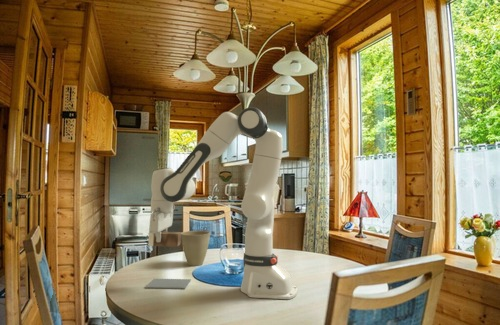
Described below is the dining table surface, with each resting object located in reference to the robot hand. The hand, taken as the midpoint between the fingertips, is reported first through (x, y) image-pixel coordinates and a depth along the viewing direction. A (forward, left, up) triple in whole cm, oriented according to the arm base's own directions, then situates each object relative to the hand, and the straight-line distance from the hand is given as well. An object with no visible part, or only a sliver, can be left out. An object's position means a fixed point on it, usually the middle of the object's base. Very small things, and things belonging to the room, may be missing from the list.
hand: (161, 240), depth 138 cm
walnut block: (-7, -2, +1) cm, 8 cm away
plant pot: (+2, -34, -18) cm, 39 cm away
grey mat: (-3, -1, -18) cm, 18 cm away
